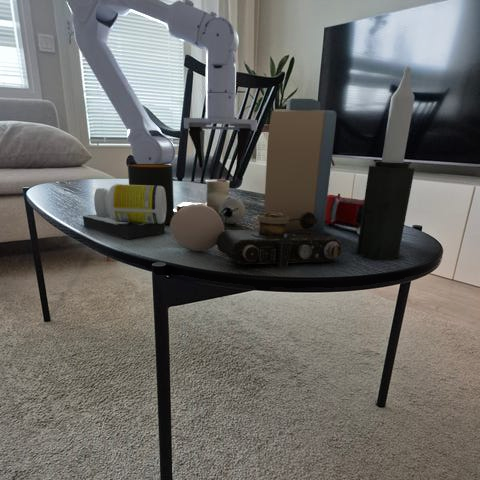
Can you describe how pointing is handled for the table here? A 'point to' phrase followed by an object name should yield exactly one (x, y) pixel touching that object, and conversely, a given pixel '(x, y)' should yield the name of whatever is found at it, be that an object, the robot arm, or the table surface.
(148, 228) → the vhs tape
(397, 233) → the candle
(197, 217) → the egg
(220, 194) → the pointer wheel
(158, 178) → the mug
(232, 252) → the camera
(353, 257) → the table surface
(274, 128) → the tall beige block
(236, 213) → the reed diffuser
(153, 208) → the pill bottle
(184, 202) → the dial console
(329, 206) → the toy car
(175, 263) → the table surface
